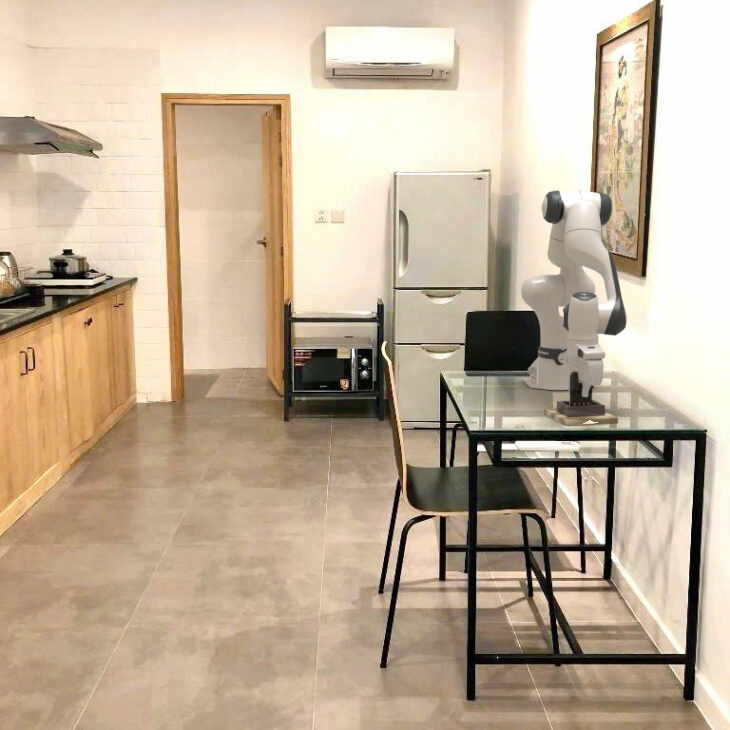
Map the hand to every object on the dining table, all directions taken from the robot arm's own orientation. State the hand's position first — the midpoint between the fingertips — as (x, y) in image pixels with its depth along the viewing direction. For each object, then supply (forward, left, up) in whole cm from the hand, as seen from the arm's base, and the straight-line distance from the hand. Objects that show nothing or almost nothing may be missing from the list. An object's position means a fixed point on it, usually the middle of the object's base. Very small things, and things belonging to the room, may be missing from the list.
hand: (580, 395), depth 266 cm
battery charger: (+1, 0, -5) cm, 5 cm away
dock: (0, 0, -7) cm, 7 cm away
